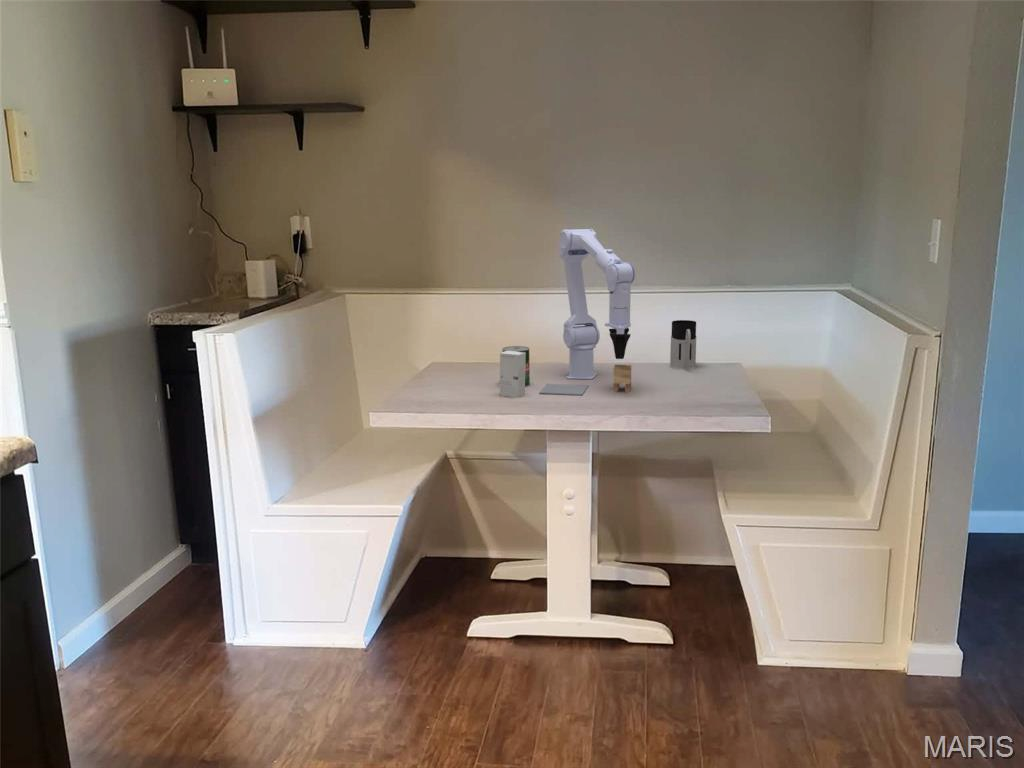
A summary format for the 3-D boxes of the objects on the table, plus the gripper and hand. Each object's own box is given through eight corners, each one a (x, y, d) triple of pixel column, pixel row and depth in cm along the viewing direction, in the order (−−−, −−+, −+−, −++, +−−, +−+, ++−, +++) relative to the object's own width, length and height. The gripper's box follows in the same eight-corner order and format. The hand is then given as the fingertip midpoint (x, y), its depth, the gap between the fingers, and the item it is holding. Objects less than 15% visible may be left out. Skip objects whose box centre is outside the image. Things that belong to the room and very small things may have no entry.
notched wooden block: (615, 388, 242) (615, 364, 241) (631, 389, 241) (631, 364, 240) (613, 392, 238) (613, 367, 236) (629, 392, 237) (629, 367, 235)
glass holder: (694, 366, 273) (695, 319, 270) (702, 375, 259) (704, 326, 256) (666, 366, 273) (667, 320, 270) (673, 375, 260) (675, 326, 256)
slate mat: (547, 385, 247) (547, 383, 247) (588, 387, 245) (588, 385, 244) (539, 394, 236) (539, 392, 236) (582, 396, 233) (582, 394, 233)
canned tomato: (527, 388, 244) (526, 350, 241) (500, 388, 245) (499, 350, 243) (532, 383, 251) (531, 346, 249) (505, 382, 253) (505, 345, 251)
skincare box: (499, 396, 235) (498, 352, 233) (507, 392, 239) (506, 350, 236) (518, 398, 232) (518, 354, 230) (526, 395, 236) (526, 351, 233)
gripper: (604, 304, 241) (604, 351, 244) (605, 310, 227) (605, 360, 230) (629, 304, 241) (629, 351, 244) (632, 310, 227) (631, 361, 230)
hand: (619, 356), depth 237 cm, fingers open, 7 cm apart
